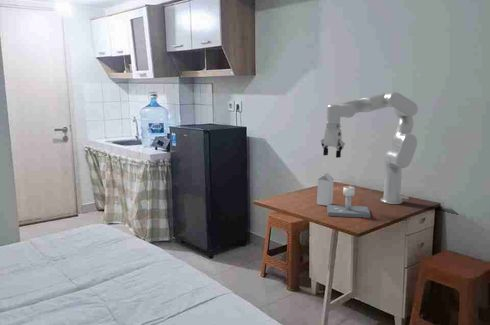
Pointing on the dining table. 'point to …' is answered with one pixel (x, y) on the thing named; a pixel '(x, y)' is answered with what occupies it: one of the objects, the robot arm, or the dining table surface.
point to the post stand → (348, 210)
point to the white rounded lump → (348, 191)
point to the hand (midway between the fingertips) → (331, 156)
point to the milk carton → (325, 190)
